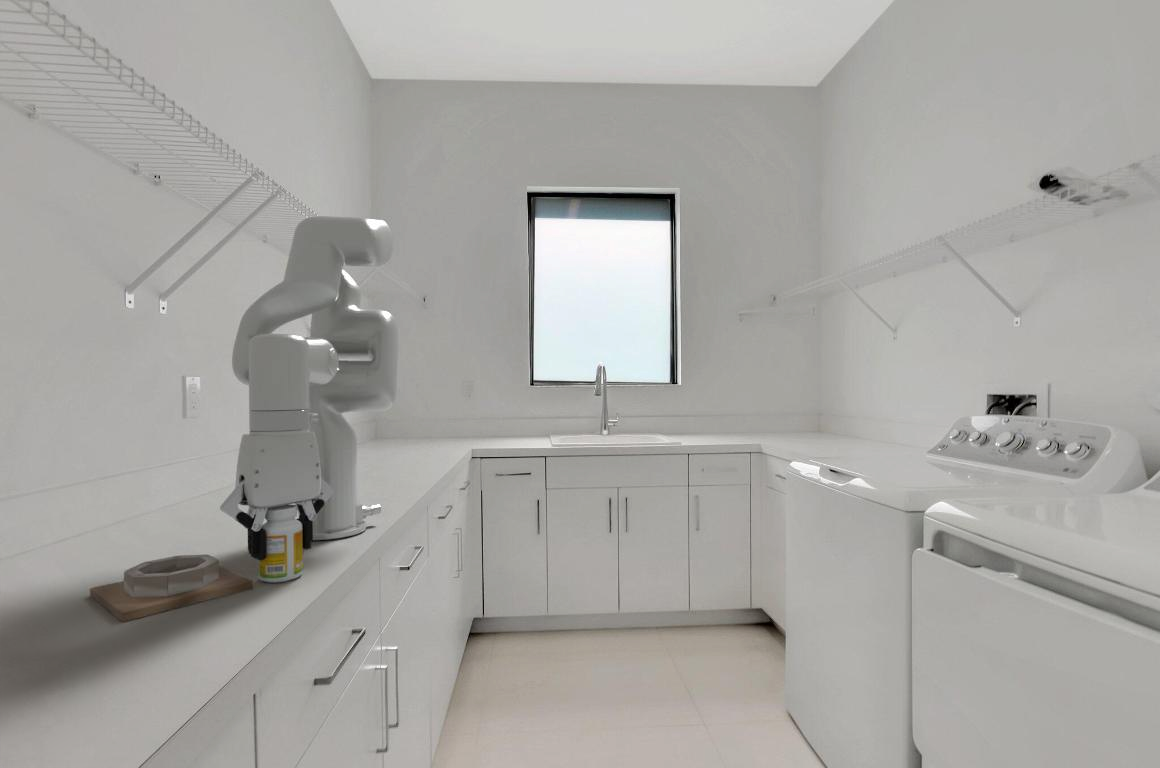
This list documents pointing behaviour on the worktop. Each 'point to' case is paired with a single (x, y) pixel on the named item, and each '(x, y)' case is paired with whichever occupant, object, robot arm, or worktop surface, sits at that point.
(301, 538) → the supplement bottle
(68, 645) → the worktop surface
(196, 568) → the ring socket
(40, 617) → the worktop surface
